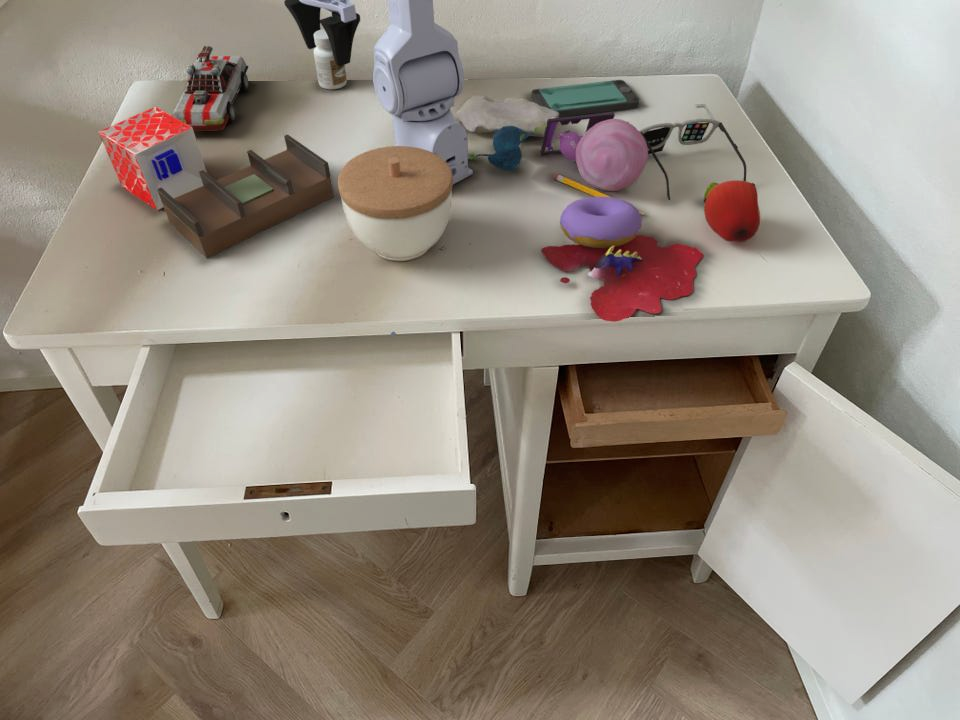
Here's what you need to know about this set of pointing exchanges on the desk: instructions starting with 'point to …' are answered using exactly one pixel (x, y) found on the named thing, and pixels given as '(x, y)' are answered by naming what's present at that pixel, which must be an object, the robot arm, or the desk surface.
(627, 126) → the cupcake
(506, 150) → the blue flowers
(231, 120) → the toy car
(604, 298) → the red splat with dinosaur
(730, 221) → the apple
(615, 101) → the smartphone
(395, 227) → the lidded bowl
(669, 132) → the smart glasses
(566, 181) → the pencil
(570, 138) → the purple rectangular frame
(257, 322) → the desk surface
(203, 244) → the divided wooden tray
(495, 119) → the stone
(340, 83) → the pill bottle
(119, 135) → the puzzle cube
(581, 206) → the donut
